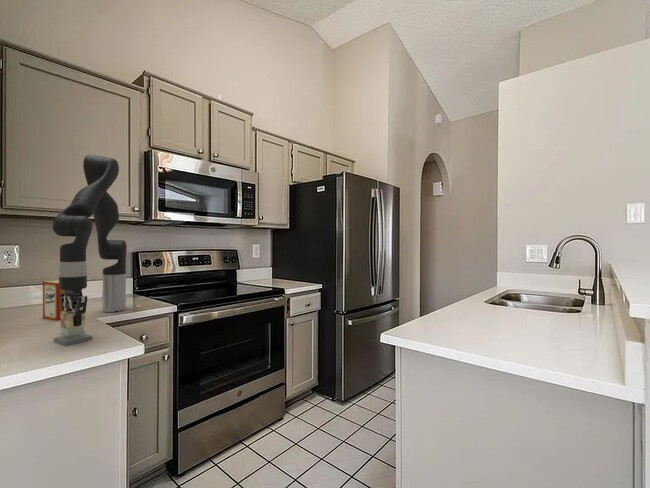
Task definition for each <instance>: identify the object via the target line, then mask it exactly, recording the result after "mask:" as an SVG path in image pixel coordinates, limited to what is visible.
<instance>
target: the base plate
mask: <svg viewBox="0 0 650 488" xmlns="http://www.w3.org/2000/svg"><path fill="white" fill-rule="evenodd" d="M91 340H94V339H93V335H91V334H87V333H85V332H83V333H82V332H79V333H75V334H70V335H61V336H57V337H54V338H53V342H54V343H57V344H59V345H61V346H64V347H66V346H70V345H74V344H79V343H82V342H87V341H91Z"/></svg>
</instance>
